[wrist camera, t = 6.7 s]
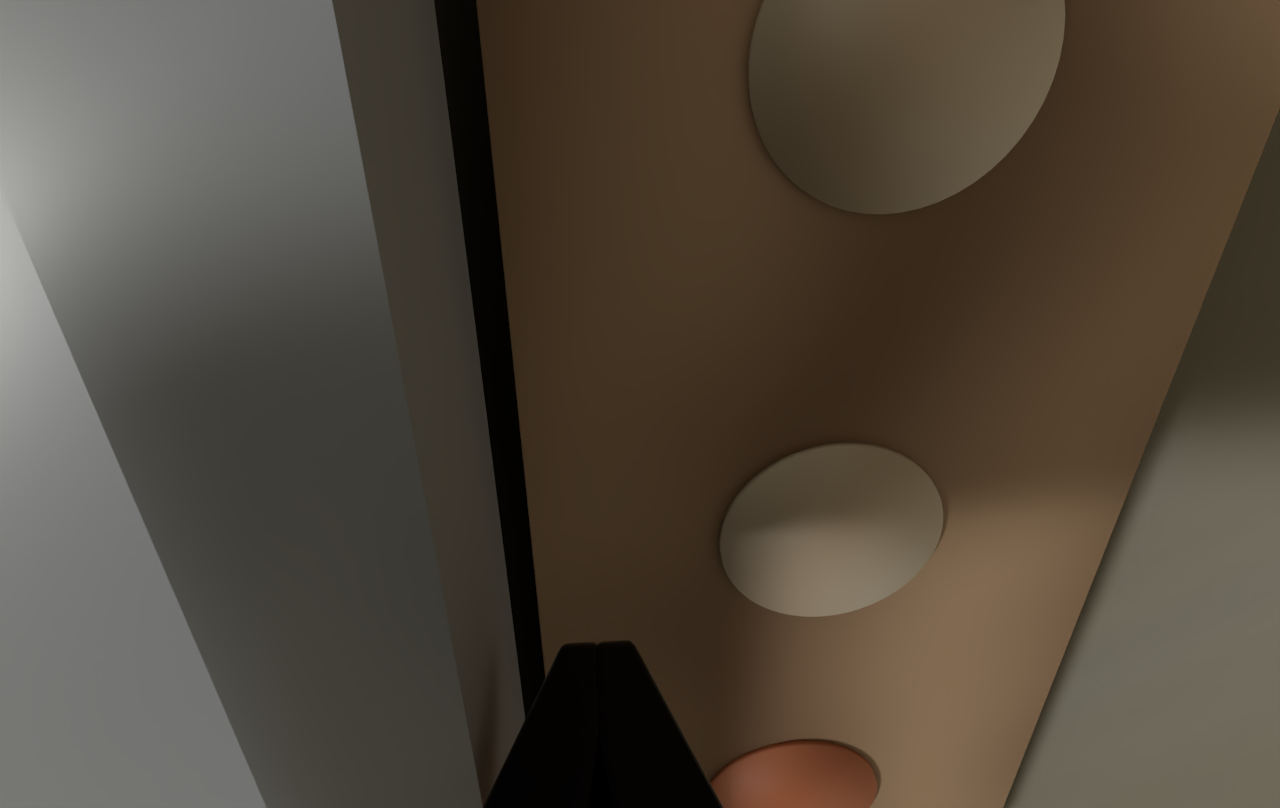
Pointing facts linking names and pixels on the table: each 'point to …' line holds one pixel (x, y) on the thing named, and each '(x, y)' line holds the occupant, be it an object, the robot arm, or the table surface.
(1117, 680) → the table surface
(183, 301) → the sliding cover
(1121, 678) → the table surface
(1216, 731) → the table surface
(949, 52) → the plate
